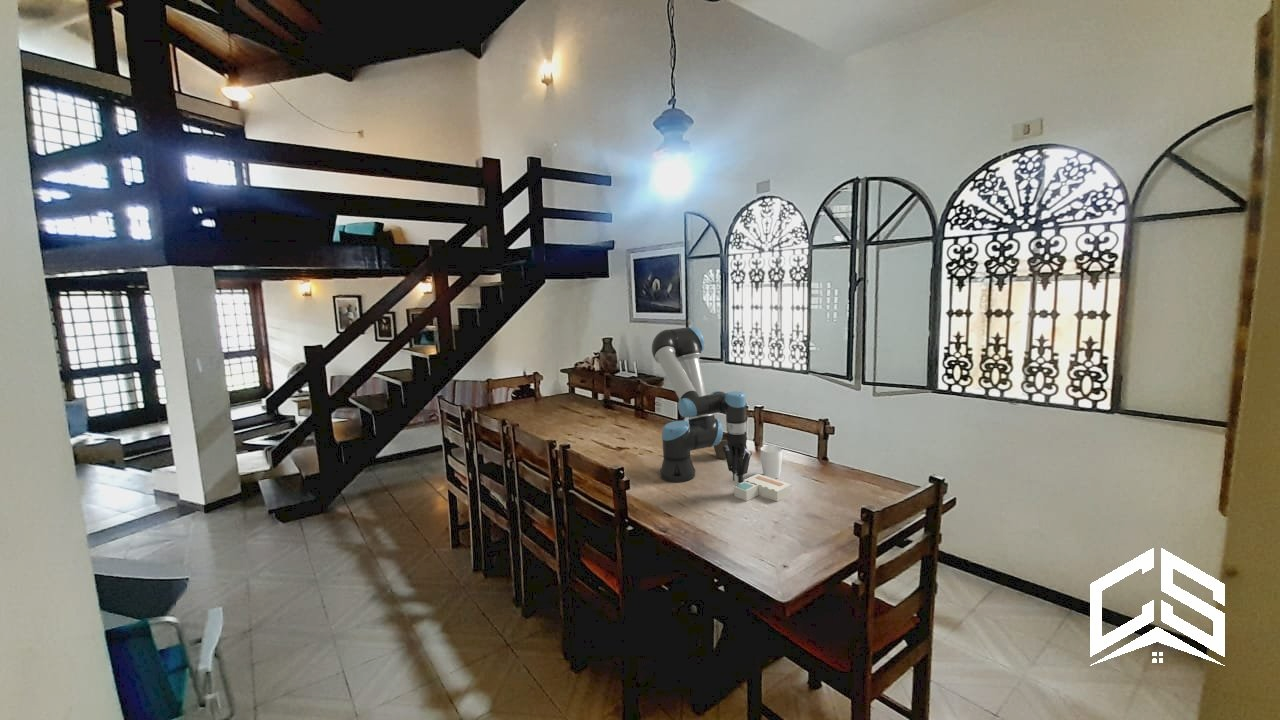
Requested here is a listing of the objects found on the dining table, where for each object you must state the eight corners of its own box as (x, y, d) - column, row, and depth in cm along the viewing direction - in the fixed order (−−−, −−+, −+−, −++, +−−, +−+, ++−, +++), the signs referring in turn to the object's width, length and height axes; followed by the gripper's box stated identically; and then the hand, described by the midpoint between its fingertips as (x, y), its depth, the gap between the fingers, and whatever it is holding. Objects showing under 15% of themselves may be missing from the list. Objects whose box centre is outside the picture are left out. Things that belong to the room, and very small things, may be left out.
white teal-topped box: (734, 496, 204) (734, 486, 203) (745, 490, 208) (745, 480, 208) (746, 500, 199) (746, 490, 199) (758, 495, 204) (757, 484, 203)
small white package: (743, 489, 210) (743, 479, 209) (757, 482, 215) (757, 473, 215) (777, 501, 198) (777, 491, 197) (791, 494, 203) (791, 484, 203)
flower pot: (718, 451, 255) (717, 431, 253) (740, 454, 248) (739, 434, 246) (707, 458, 245) (706, 438, 244) (729, 462, 239) (728, 441, 237)
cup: (783, 480, 216) (783, 452, 214) (761, 480, 218) (760, 452, 216) (782, 472, 225) (781, 445, 223) (760, 471, 227) (759, 445, 225)
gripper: (717, 430, 205) (719, 488, 209) (743, 437, 195) (745, 497, 199) (729, 426, 210) (731, 482, 214) (756, 432, 200) (757, 491, 204)
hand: (738, 489), depth 206 cm, fingers closed
